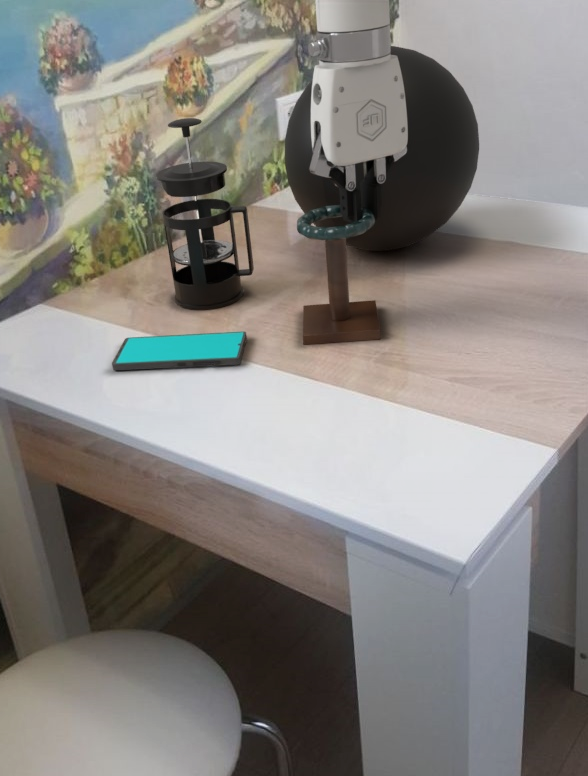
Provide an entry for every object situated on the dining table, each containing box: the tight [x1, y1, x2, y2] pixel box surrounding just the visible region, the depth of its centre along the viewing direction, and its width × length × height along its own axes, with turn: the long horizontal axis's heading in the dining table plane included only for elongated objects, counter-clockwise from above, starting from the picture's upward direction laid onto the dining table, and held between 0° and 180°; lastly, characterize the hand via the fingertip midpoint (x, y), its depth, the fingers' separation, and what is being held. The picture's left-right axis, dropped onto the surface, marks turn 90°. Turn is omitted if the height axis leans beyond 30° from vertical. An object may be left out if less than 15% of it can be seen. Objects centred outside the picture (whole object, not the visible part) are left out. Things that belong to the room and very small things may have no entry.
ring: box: [296, 205, 375, 241], centre depth 100 cm, size 9×9×1 cm
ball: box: [284, 45, 480, 252], centre depth 123 cm, size 27×27×27 cm
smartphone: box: [111, 331, 248, 371], centre depth 104 cm, size 7×1×15 cm
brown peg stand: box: [302, 239, 381, 345], centre depth 104 cm, size 9×9×11 cm
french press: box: [155, 117, 255, 311], centre depth 113 cm, size 12×9×23 cm
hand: (361, 218), depth 102 cm, fingers closed on ring
